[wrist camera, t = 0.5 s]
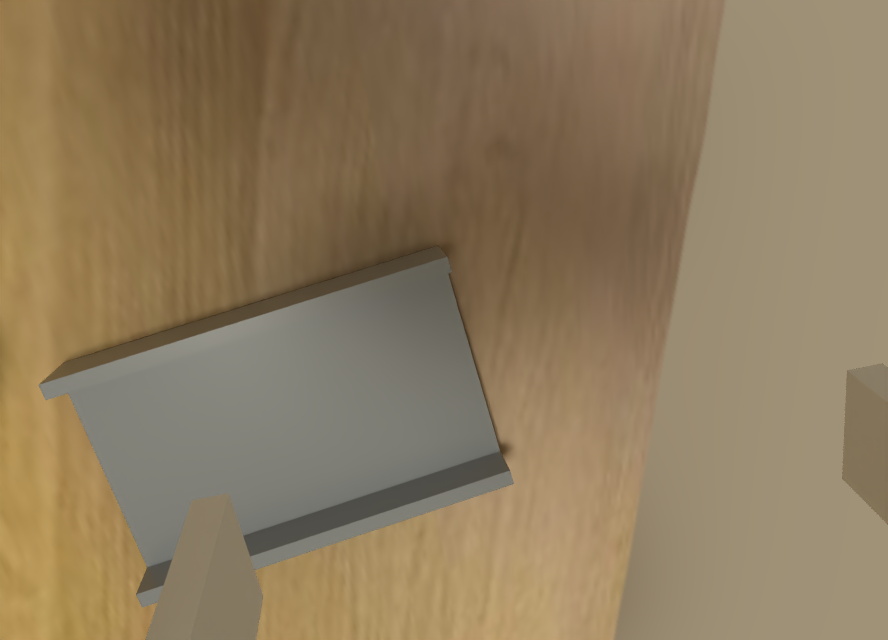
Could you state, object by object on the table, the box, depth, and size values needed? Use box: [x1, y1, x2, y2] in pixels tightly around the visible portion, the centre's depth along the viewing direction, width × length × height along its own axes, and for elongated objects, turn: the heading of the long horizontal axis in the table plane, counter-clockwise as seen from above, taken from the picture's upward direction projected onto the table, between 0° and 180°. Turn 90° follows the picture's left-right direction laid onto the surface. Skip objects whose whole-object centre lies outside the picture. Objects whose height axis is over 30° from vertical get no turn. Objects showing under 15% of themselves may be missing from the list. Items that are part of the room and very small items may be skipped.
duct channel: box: [39, 246, 514, 607], centre depth 40 cm, size 13×20×4 cm, turn 106°
